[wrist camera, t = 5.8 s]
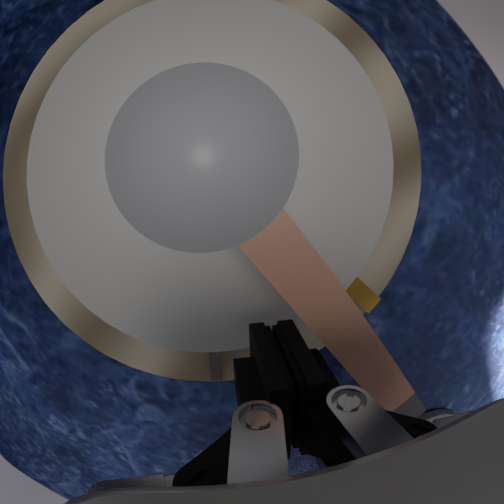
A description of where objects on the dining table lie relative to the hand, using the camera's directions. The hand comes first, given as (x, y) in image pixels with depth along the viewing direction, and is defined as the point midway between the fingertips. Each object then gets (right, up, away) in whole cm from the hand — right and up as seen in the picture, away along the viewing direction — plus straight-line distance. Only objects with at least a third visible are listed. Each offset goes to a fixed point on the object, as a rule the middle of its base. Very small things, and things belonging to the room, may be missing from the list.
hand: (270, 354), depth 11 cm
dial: (-1, +5, +2) cm, 6 cm away
